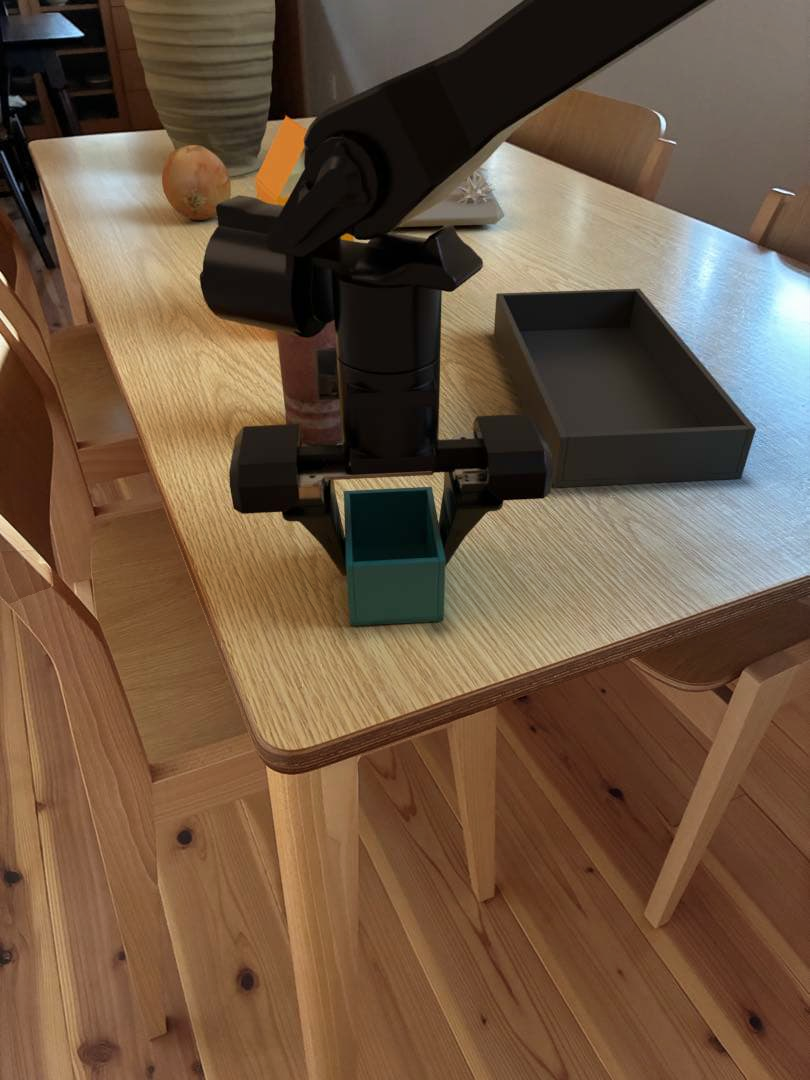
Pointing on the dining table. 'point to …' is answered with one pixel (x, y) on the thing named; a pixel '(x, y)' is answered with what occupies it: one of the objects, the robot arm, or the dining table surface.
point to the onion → (195, 182)
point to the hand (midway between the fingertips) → (393, 568)
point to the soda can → (308, 388)
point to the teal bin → (393, 556)
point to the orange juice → (283, 166)
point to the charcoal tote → (617, 390)
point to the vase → (209, 72)
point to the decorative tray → (463, 206)
